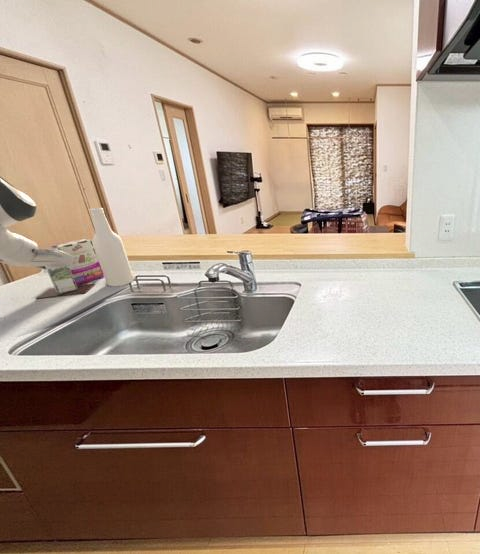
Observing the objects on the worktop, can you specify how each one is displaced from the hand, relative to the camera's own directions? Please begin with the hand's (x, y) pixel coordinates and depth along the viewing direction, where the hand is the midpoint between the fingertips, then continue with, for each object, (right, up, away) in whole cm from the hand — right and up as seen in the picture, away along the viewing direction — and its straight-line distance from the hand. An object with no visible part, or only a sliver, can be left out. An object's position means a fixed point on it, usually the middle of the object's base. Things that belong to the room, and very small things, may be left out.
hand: (58, 267), depth 109 cm
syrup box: (0, -9, +3) cm, 9 cm away
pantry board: (0, -9, +3) cm, 10 cm away
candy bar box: (-2, -5, +13) cm, 14 cm away
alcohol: (+14, -6, +12) cm, 19 cm away
